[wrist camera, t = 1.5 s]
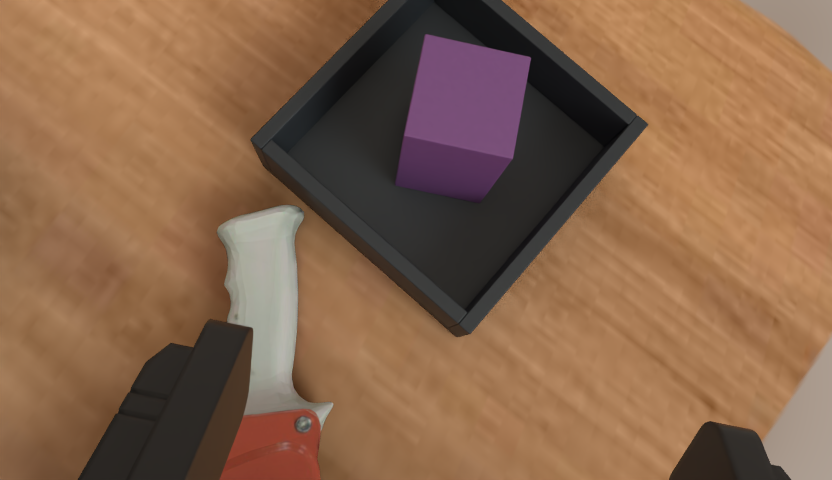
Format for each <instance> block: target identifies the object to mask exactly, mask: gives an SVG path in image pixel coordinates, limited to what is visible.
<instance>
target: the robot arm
mask: <svg viewBox="0 0 832 480" xmlns="http://www.w3.org/2000/svg"><path fill="white" fill-rule="evenodd" d="M252 346H253V328H252V327H247V326H242V325H237V324H232V323H227V322H222V321H218V320H213V319H210V320H208V321H207V323H206V324H205V326H204V328H203V330H202V332H201V334H200V336H199V338H198V340H197V341H196V343H195V345H194V347H188V346H183V345H178V344H173V343H170V344H169V345H168V346H166V347H165V348H164V349H162V350H161V351H160V352H158V353H157V354H156V355H155V356H153V357H152V358H151V359H149V360H148V361H147V362H146V363H145V365H144V366H143V368H142V370H141V371H140V373H139V375H138V377H137V378H136V380H135V382H134V383H133V385H132V387H131V391H130V393H128V394H127V396H126V397H125V399H124V401H123V402H122V404H121V406H120V408H119V412H118V414H116V415H115V416H114V418H113V420H112V421H111V423H110V425H109V427H108V428H107V430H106V432H105V433H104V435H103V437H102V439H101V440H100V442H99V444H98V446H97V447H96V449H95V451H94V452H93V454H92V456H91V458H90V459H89V461H88V463H87V464H86V466H85V468H84V470H83V471H82V473H81V475H80V477H79V478H78V480H220V477H221V474H222V472H223V469H224V466H225V464H226V461H227V459H228V456H229V453H230V451H231V448H232V445H233V443H234V440H235V437H236V435H237V432H238V430H239V427H240V424H241V421H242V418H243V415H244V411H245V408H246V403H247V399H248V393H249V385H250V372H251V359H252ZM669 480H791V479H790V478H789V476H788V475H787V474H786V473H785V472H784V470H783V469H782V468H781V467H780V466H775V465H771V464H770V461H769V459H768V457H767V454H766V452H765V450H764V447H763V444H762V442H761V440H760V438H759V436H758V434H757V433H756V432H755V431H753V430H751V429H746V428H741V427H736V426H731V425H726V424H721V423H716V422H711V421H709V422H706V423H705V424H703V425H702V427H701V428H700V429H699V431H698V433H697V434H696V436H695V437H694V439H693V440H692V442H691V444H690V445H689V447H688V448H687V450H686V451H685V453H684V454H683V456H682V458H681V459H680V461H679V462H678V464H677V465H676V467H675V468H674V470H673V472H672V473H671V476H670V478H669Z"/></svg>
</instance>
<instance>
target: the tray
mask: <svg viewBox="0 0 832 480" xmlns="http://www.w3.org/2000/svg"><path fill="white" fill-rule="evenodd" d="M425 34H428V35H433V36H437V37H442V38H446V39H451V40H455V41H460V42H464V43H469V44H473V45H478V46H482V47H487V48H491V49H496V50H500V51H505V52H509V53H514V54H519V55H523V56H528V57H531V61H530V66H529V72H528V77H527V83H526V89H525V94H524V100H523V105H522V111H521V117H520V122H519V128H518V133H517V139H516V145H515V150H514V156H513V159H512V160H511V162H510V163H509V164H508V166H507V167H506V168H505V170H504V171H503V173H502V174H501V175H500V177H499V178H498V179H497V181H496V182H495V183H494V185H493V186H492V187H491V189H490V190H489V191H488V193H487V194H486V196H485V197H484V198H483V200H482V201H481V202H480V203H475V202H470V201H466V200H461V199H456V198H451V197H447V196H442V195H437V194H433V193H428V192H423V191H419V190H414V189H409V188H404V187H400V186H395V180H396V174H397V169H398V163H399V158H400V152H401V146H402V141H403V135H404V131H405V126H406V121H407V116H408V112H409V107H410V102H411V97H412V93H413V88H414V83H415V79H416V74H417V69H418V64H419V60H420V55H421V50H422V45H423V41H424V36H425ZM647 126H648V124H647V123H646V122H645V121H644V120H643V119H642V118H640V117H639V116H637V115H636V114H635V113H634V112H633V111H632V110H631V109H630V108H628V107H627V106H626V105H625V104H624V103H622V102H621V101H620V100H619V99H618V98H617V97H615V96H614V95H613V94H612V93H611V92H609V91H608V90H607V89H606V88H605V87H603V86H602V85H601V84H600V83H599V82H598V81H596V80H595V79H594V78H593V77H592V76H590V75H589V74H588V73H587V72H586V71H585V70H583V69H582V68H581V67H580V66H579V65H577V64H576V63H575V62H574V61H573V60H572V59H570V58H569V57H568V56H567V55H566V54H564V53H563V52H562V51H561V50H560V49H558V48H557V47H556V46H555V45H554V44H553V43H551V42H550V41H549V40H548V39H547V38H545V37H544V36H543V35H542V34H541V33H540V32H538V31H537V30H536V29H535V28H534V27H532V26H531V25H530V24H529V23H528V22H526V21H525V20H524V19H523V18H522V17H521V16H519V15H518V14H517V13H516V12H515V11H513V10H512V9H511V8H510V7H509V6H508V5H506V4H505V3H504V2H503V1H502V0H388V1H387V2H386V3H385V4H384V5H383V6H382V7H381V8H380V9H379V10H378V11H377V12H376V13H375V14H374V15H373V16H372V17H371V18H370V19H369V20H368V21H367V22H366V23H365V24H364V25H363V26H362V27H361V28H360V29H359V30H358V31H357V32H356V33H355V34H354V35H353V36H352V37H351V38H350V39H349V40H348V41H347V42H346V43H345V44H344V45H343V46H342V47H341V48H340V49H339V50H338V51H337V52H336V53H335V54H334V55H333V57H332V58H331V59H330V60H329V61H328V62H327V63H326V64H325V65H324V66H323V67H322V68H321V69H320V70H319V71H318V72H317V73H316V74H315V75H314V76H313V77H312V78H311V79H310V80H309V81H308V82H307V83H306V84H305V85H304V86H303V87H302V88H301V89H300V90H299V91H298V92H297V93H296V94H295V95H294V96H293V97H292V98H291V99H290V100H289V101H288V102H287V103H286V104H285V105H284V106H283V107H282V108H281V109H280V110H279V111H278V112H277V113H276V114H275V115H274V116H273V117H272V118H271V119H270V120H269V121H268V122H267V123H266V124H265V125H264V126H263V127H262V128H261V129H260V130H259V131H258V132H257V133H256V134H255V135H254V136H253V137H252V138H251V142H252V144H253V146H254V148H255V150H256V152H257V154H258V156H259V158H260V160H261V162H262V164H263V166H264V167H265V168H266V169H267V170H268V171H270V172H271V173H272V174H273V175H274V176H275V177H276V178H278V179H279V180H280V181H281V182H282V183H283V184H284V185H285V186H287V187H288V188H289V189H290V190H291V191H292V192H293V193H294V194H296V195H297V196H298V197H299V198H300V199H301V200H302V201H303V202H305V203H306V204H307V205H308V206H309V207H310V208H311V209H313V210H314V211H315V212H316V213H317V214H318V215H319V216H320V217H322V218H323V219H324V220H325V221H326V222H327V223H328V224H329V225H331V226H332V227H333V228H334V229H335V230H336V231H337V232H338V233H340V234H341V235H342V236H343V237H344V238H345V239H346V240H348V241H349V242H350V243H351V244H352V245H353V246H354V247H355V248H357V249H358V250H359V251H360V252H361V253H362V254H363V255H364V256H366V257H367V258H368V259H369V260H370V261H371V262H372V263H373V264H375V265H376V266H377V267H378V268H379V269H380V270H381V271H383V272H384V273H385V274H386V275H387V276H388V277H389V278H390V279H392V280H393V281H394V282H395V283H396V284H397V285H398V286H399V287H401V288H402V289H403V290H404V291H405V292H406V293H407V294H408V295H410V296H411V297H412V298H413V299H414V300H415V301H416V302H418V303H419V304H420V305H421V306H422V307H423V308H424V309H425V310H427V311H428V312H429V313H430V314H431V315H432V316H433V317H434V318H436V319H437V320H438V321H439V322H440V323H441V324H442V325H443V326H445V327H446V328H447V329H448V330H449V331H450V332H451V333H452V334H454V335H455V336H456V337H460V336H464V335H468V334H471V333H472V331H473V330H474V329H475V328H476V327H477V326H478V324H479V323H480V322H481V321H482V320H483V319H484V317H485V316H486V315H487V314H488V313H489V312H490V310H491V309H492V308H493V307H494V306H495V304H496V303H497V302H498V301H499V300H500V299H501V297H502V296H503V295H504V294H505V293H506V292H507V290H508V289H509V288H510V287H511V286H512V284H513V283H514V282H515V281H516V280H517V279H518V277H519V276H520V275H521V274H522V273H523V272H524V270H525V269H526V268H527V267H528V266H529V264H530V263H531V262H532V261H533V260H534V259H535V257H536V256H537V255H538V254H539V253H540V252H541V250H542V249H543V248H544V247H545V246H546V244H547V243H548V242H549V241H550V240H551V239H552V237H553V236H554V235H555V234H556V233H557V232H558V230H559V229H560V228H561V227H562V226H563V224H564V223H565V222H566V221H567V220H568V219H569V217H570V216H571V215H572V214H573V213H574V212H575V210H576V209H577V208H578V207H579V206H580V204H581V203H582V202H583V201H584V200H585V199H586V197H587V196H588V195H589V194H590V193H591V192H592V190H593V189H594V188H595V187H596V186H597V185H598V183H599V182H600V181H601V180H602V179H603V177H604V176H605V175H606V174H607V173H608V172H609V170H610V169H611V168H612V167H613V166H614V165H615V163H616V162H617V161H618V160H619V159H620V157H621V156H622V155H623V154H624V153H625V152H626V150H627V149H628V148H629V147H630V146H631V145H632V143H633V142H634V141H635V140H636V139H637V137H638V136H639V135H640V134H641V133H642V132H643V130H644V129H645V128H646V127H647Z"/></svg>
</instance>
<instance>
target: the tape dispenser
mask: <svg viewBox="0 0 832 480" xmlns="http://www.w3.org/2000/svg"><path fill="white" fill-rule="evenodd" d="M303 219H304V212H303V211H302V210H301V208H299V207H297V206H294V205H280V206H276V207H272V208H268V209H265V210H262V211H257V212H253V213H249V214H244V215H240V216H237V217H235V218H232V219H230V220H228V221H226V222H224V223H223V224H221V225H220V226H219V227H218V230H217V234H218V237H219V238H220V240H221V241H222V242H223V244H224V246H225V248H226V252H227V258H228V270H227V275H226V279H225V283H224V286H225V287H226V289H227V290H228V292H229V294H230V300H231V309H230V311H229V314H228V317H227V322H228V323H232V324H237V325H242V326H247V327H252V328H253V346H252V359H251V372H250V385H249V393H248V399H247V403H246V408H245V411H244V415H243V418H242V421H241V424H240V427H239V430H238V432H237V435H236V437H235V440H234V443H233V445H232V448H231V451H230V453H229V456H228V459H227V461H226V464H225V466H224V469H223V472H222V474H221V477H220V480H320V470H319V464H318V461H317V456H318V449H319V442H320V431H321V430H322V427H323V424H324V422H325V419H326V417H327V415H328V414H329V412H330V410H331V409H332V407H333V405H334V404H333V403H332V402H324V403H311V402H307V401H306V400H304V399H303V398H301V397H300V396H299V395H298V393H297V392H296V390H295V389H294V386H293V381H292V370H293V363H294V355H295V345H296V336H297V320H298V280H297V262H296V254H295V245H294V241H295V234H296V231H297V229H298V227H299V225H300V224H301V222H302V221H303Z"/></svg>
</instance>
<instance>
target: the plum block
mask: <svg viewBox="0 0 832 480" xmlns="http://www.w3.org/2000/svg"><path fill="white" fill-rule="evenodd" d="M530 61H531V57H528V56H523V55H519V54H514V53H509V52H505V51H500V50H496V49H491V48H487V47H482V46H478V45H473V44H469V43H464V42H460V41H455V40H451V39H446V38H442V37H437V36H433V35H428V34H425V36H424V41H423V45H422V50H421V55H420V60H419V64H418V69H417V74H416V79H415V83H414V88H413V93H412V97H411V102H410V107H409V112H408V116H407V121H406V126H405V131H404V135H403V141H402V146H401V152H400V158H399V163H398V169H397V174H396V180H395V186H400V187H404V188H409V189H414V190H419V191H423V192H428V193H433V194H437V195H442V196H447V197H451V198H456V199H461V200H466V201H470V202H475V203H480V202H481V201H482V200H483V198H484V197H485V196H486V194H487V193H488V191H489V190H490V189H491V187H492V186H493V185H494V183H495V182H496V181H497V179H498V178H499V177H500V175H501V174H502V173H503V171H504V170H505V168H506V167H507V166H508V164H509V163H510V162H511V160H512V159H513V156H514V150H515V145H516V139H517V133H518V128H519V122H520V117H521V111H522V105H523V100H524V94H525V89H526V83H527V77H528V72H529V66H530Z"/></svg>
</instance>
